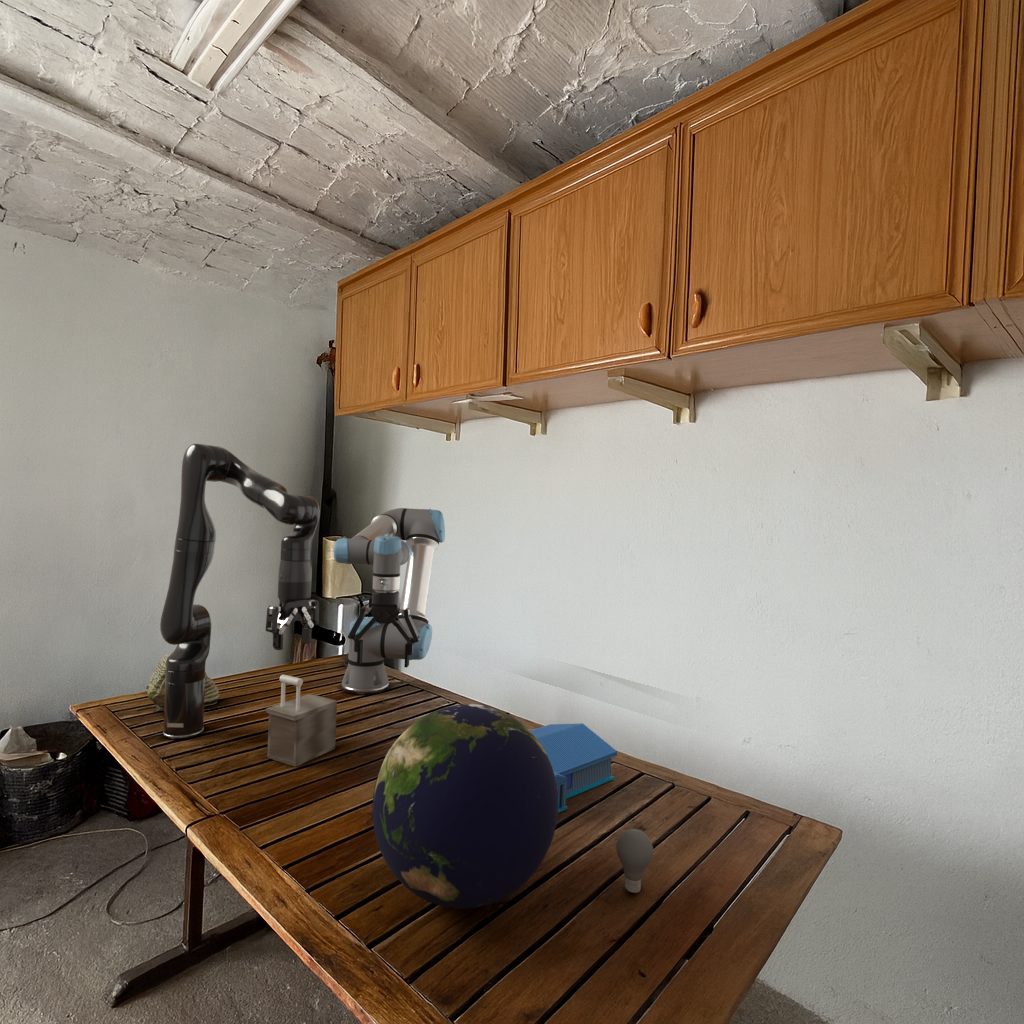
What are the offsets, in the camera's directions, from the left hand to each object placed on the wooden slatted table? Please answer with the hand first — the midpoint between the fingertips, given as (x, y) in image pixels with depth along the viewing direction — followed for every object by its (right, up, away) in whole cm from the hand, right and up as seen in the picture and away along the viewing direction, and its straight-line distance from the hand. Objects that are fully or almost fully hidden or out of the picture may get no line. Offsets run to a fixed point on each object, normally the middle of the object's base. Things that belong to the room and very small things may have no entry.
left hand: (292, 646), depth 151 cm
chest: (+1, -27, +4) cm, 28 cm away
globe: (+44, -30, -48) cm, 72 cm away
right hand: (+16, -12, +29) cm, 35 cm away
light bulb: (+73, -31, -46) cm, 91 cm away
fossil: (-44, -25, +34) cm, 60 cm away
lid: (+1, -16, +4) cm, 17 cm away
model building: (+56, -30, -9) cm, 64 cm away
